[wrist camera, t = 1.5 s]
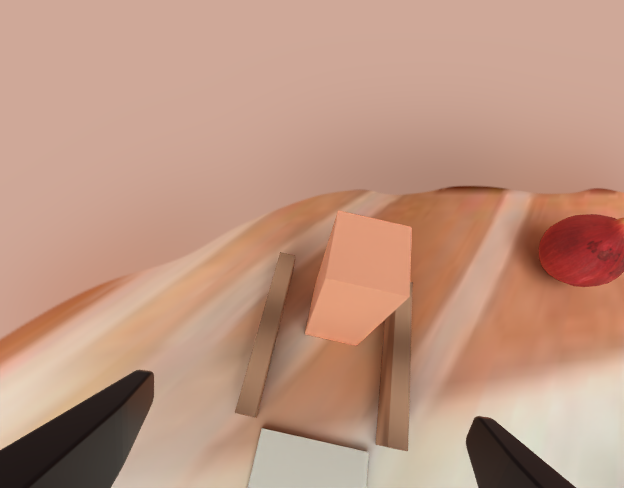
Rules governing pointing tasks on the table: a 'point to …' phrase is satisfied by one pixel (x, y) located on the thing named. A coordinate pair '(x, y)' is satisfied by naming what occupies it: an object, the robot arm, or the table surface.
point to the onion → (584, 250)
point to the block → (360, 278)
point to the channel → (392, 369)
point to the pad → (306, 463)
